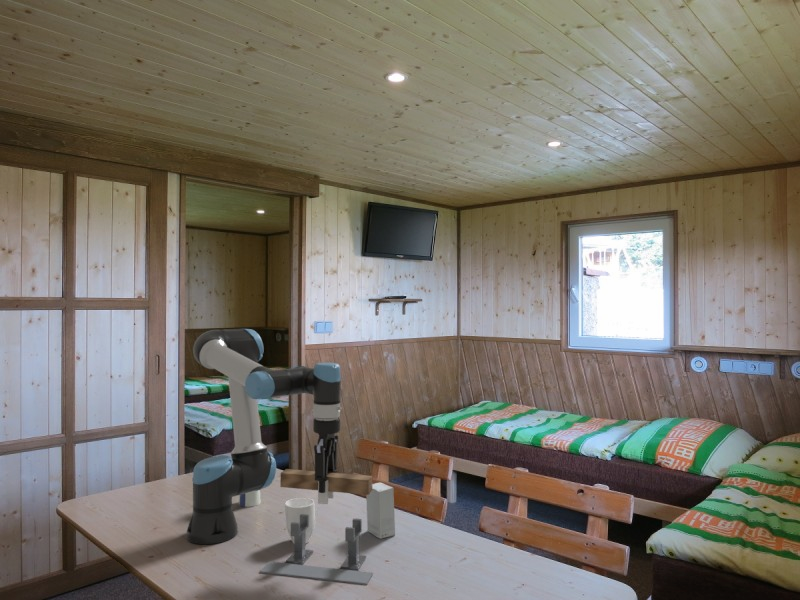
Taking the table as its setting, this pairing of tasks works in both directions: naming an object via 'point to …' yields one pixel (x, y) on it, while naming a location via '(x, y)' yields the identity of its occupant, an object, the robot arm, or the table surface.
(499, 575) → the table surface
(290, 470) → the rail
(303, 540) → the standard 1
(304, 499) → the mug
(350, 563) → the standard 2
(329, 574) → the mat
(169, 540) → the table surface
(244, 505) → the water bottle
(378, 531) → the skincare box
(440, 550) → the table surface
